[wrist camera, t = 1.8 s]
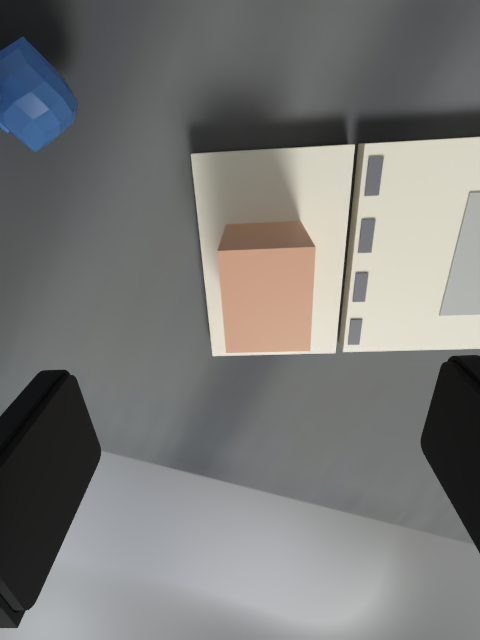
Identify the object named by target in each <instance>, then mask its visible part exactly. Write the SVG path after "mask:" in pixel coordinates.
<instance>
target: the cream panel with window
mask: <svg viewBox="0 0 480 640" xmlns="http://www.w3.org/2000/svg"><path fill="white" fill-rule="evenodd" d="M339 344H340V346H341V349H342V351H343V352H365V351H406V350H446V349H480V137H464V138H447V139H430V140H413V141H396V142H379V143H361V144H358V151H357V161H356V172H355V182H354V192H353V202H352V213H351V223H350V233H349V243H348V254H347V264H346V274H345V284H344V295H343V305H342V315H341V325H340V336H339Z"/></svg>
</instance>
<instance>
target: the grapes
mask: <svg viewBox="0 0 480 640" xmlns="http://www.w3.org/2000/svg"><path fill="white" fill-rule="evenodd" d="M77 104H78V102H77V100H76V98H75V97H74V95H73V93H72V91H71V90H70V88H69V87H68V85H67V83H66V82H65V80H64V78H63V77H62V76H61V75H60V74H59V73H58V72H57V71H56V69H55V68H54V67H53V66H52V65H51V64H50V63H49V62H48V61H47V60H46V59H45V58H44V57H43V56H42V55H41V54H40V53H39V52H38V51H37V50H36V49H35V48H34V47H33V46H32V45H31V44H30V43H29V42H28V41H27V40H26V39H25V38H24V37H21V38H20V39H18V40H16V41H15V42H13V43H12V44H10V45H9V46H7V47H6V48H4V49H3V50H0V128H1V129H2V130H4V131H5V132H6V133H9V132H11V133H12V134H13V135H14V136H15V137H17V138H18V139H19V140H20V141H21V142H23V143H24V144H25V145H26V146H28V147H29V148H30V149H31V150H33V151H34V152H36V151H38V150H39V149H41V148H43V147H44V146H46V145H47V144H49V143H50V142H51V141H53V140H54V139H55V138H56V137H57V136H58V135H59V134H61V133H62V132H63V131H64V130H65V129H66V128H67V127H69V126H70V125H71V124H72V123H73V122H74V120H75V116H76V111H77Z"/></svg>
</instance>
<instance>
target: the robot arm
mask: <svg viewBox="0 0 480 640" xmlns="http://www.w3.org/2000/svg"><path fill="white" fill-rule="evenodd" d="M421 448H422V451H423V453H424V455H425V457H426V459H427V460H428V462H429V464H430V466H431V467H432V469H433V471H434V473H435V475H436V476H437V478H438V480H439V482H440V483H441V485H442V487H443V489H444V491H445V492H446V494H447V496H448V498H449V499H450V501H451V503H452V505H453V506H454V508H455V510H456V512H457V514H458V515H459V517H460V519H461V521H462V522H463V524H464V526H465V528H466V529H467V531H468V533H469V535H470V537H471V538H472V540H473V542H474V544H475V545H476V547H477V549H478V551H479V553H480V356H478V355H464V356H452V357H450V358H449V359H448V361H447V362H444V363H443V364H442V366H441V368H440V372H439V375H438V379H437V382H436V386H435V390H434V393H433V397H432V400H431V404H430V407H429V411H428V415H427V418H426V422H425V425H424V429H423V432H422V436H421ZM100 456H101V447H100V444H99V441H98V438H97V436H96V433H95V430H94V427H93V424H92V422H91V419H90V416H89V413H88V410H87V407H86V405H85V402H84V399H83V396H82V393H81V390H80V388H79V385H78V382H77V379H76V377H75V376H73V375H70V373H69V372H68V371H67V370H44V371H41V372H39V373H38V374H37V375H36V376H35V377H34V379H33V380H32V381H31V382H30V383H29V384H28V385H27V387H26V388H25V389H24V390H23V391H22V392H21V393H20V395H19V396H18V397H17V398H16V399H15V400H14V401H13V403H12V404H11V405H10V406H9V407H8V408H7V409H6V411H5V412H4V413H3V414H2V415H1V416H0V628H18V626H19V624H20V622H21V619H22V617H23V615H24V613H25V611H26V610H29V609H30V608H31V607H32V606H33V605H34V604H35V602H36V600H37V598H38V596H39V594H40V592H41V590H42V587H43V585H44V583H45V581H46V578H47V576H48V574H49V572H50V570H51V567H52V565H53V563H54V561H55V558H56V556H57V554H58V552H59V549H60V547H61V545H62V543H63V541H64V538H65V536H66V534H67V532H68V530H69V527H70V525H71V523H72V520H73V518H74V516H75V514H76V512H77V510H78V507H79V505H80V502H81V501H82V498H83V496H84V494H85V492H86V489H87V487H88V485H89V483H90V481H91V478H92V476H93V474H94V471H95V470H96V467H97V465H98V463H99V460H100Z"/></svg>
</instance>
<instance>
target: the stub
mask: <svg viewBox="0 0 480 640" xmlns="http://www.w3.org/2000/svg"><path fill="white" fill-rule="evenodd" d="M354 150H355V144H345V145H328V146H311V147H293V148H276V149H259V150H242V151H225V152H208V153H193V154H191V161H192V170H193V179H194V189H195V198H196V207H197V216H198V225H199V235H200V244H201V253H202V262H203V272H204V281H205V290H206V299H207V308H208V318H209V327H210V336H211V345H212V355H213V356H236V355H277V354H318V353H336V342H337V332H338V321H339V310H340V300H341V289H342V278H343V267H344V257H345V246H346V235H347V225H348V214H349V203H350V193H351V182H352V171H353V161H354Z"/></svg>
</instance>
